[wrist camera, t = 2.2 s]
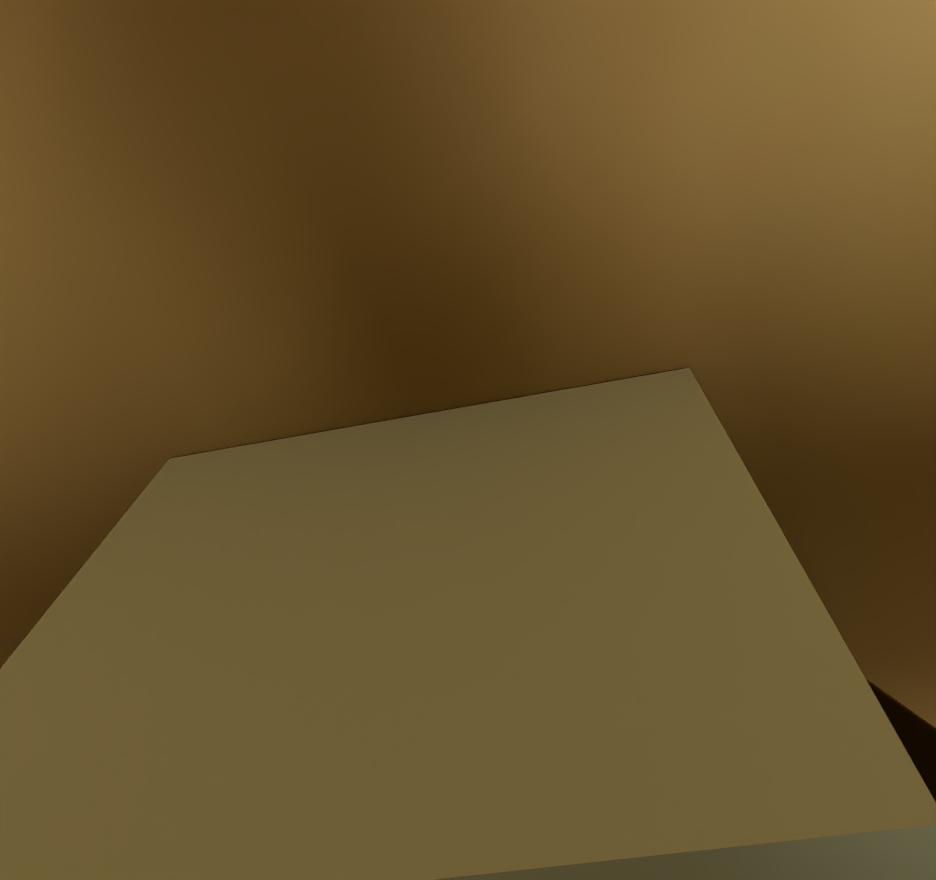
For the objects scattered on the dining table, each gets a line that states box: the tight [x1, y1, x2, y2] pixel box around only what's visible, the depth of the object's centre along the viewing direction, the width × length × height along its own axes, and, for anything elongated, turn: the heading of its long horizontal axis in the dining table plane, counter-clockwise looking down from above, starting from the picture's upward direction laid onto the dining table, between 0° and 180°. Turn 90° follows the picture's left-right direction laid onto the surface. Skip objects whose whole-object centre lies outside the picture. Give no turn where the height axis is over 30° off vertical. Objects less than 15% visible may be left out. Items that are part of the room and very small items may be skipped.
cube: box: [0, 368, 936, 880], centre depth 7 cm, size 5×5×5 cm
